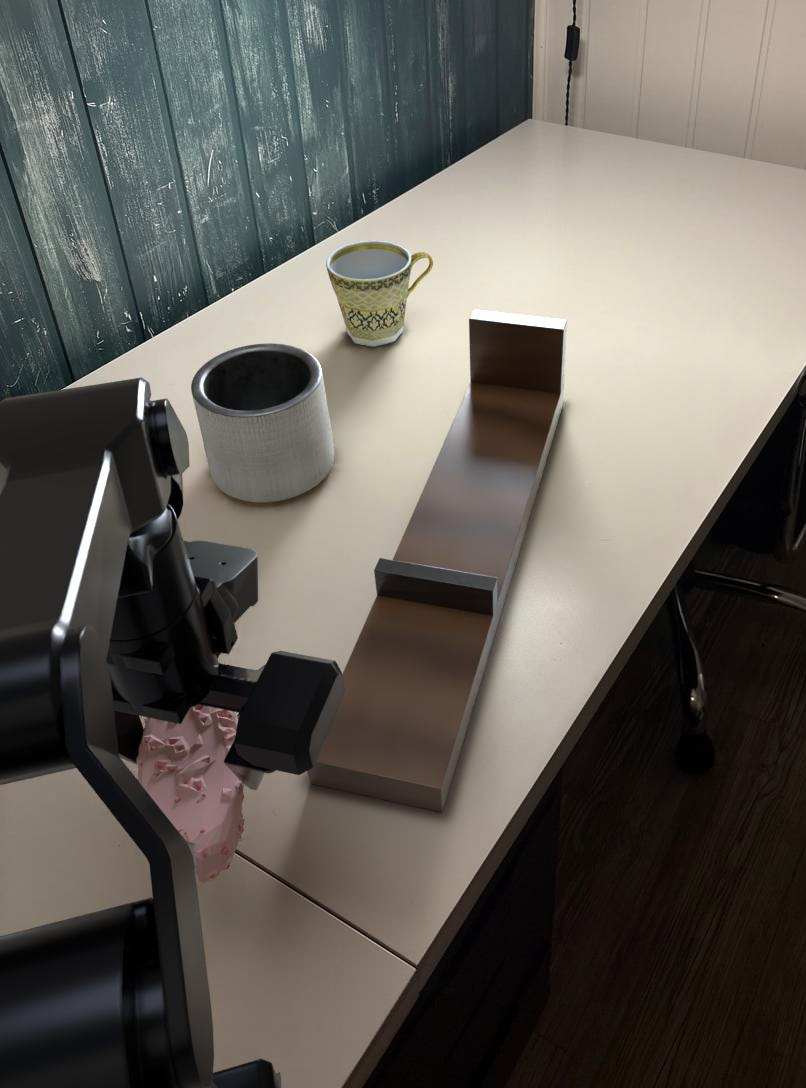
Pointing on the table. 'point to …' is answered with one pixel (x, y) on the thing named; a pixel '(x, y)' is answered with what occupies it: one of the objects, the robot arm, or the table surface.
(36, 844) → the table surface
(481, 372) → the shelf
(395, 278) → the ceramic cup
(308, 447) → the planter
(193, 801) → the ice cream bar
